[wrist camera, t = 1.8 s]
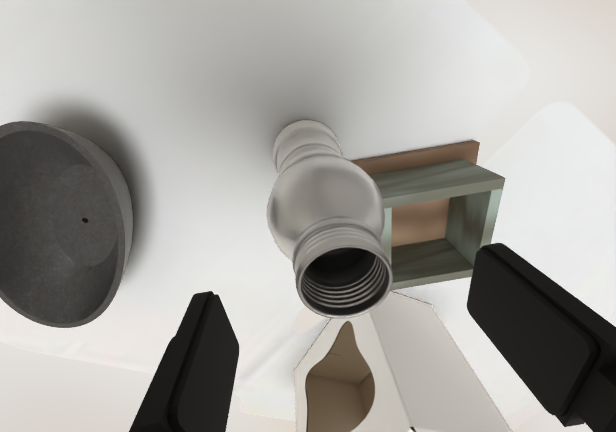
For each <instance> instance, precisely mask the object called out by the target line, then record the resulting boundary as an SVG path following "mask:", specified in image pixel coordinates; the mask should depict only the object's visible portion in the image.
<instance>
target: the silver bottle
mask: <svg viewBox="0 0 616 432" xmlns="http://www.w3.org/2000/svg"><path fill="white" fill-rule="evenodd" d="M273 161H274V164H275V167H276V170H277V173H278V174H279V175H278V178H277V180H276V182H275V184H274V186H273V188H272V191H271V194H270V197H269V201H268V205H267V221H268V227H269V229H270V232H271V234H272V237H273V239H274V241H275V243H276V244H277V246H278V247H279V249H280V250H281V252H282V253H283V254H284V255H285V256H286V257H287V258H288V259H290V260H291V261H292V262H293V269H294V272H295V276H296V288H297V291H298V294H299V297H300V299H301V300H302V302H303V303H304V305H305V306H307V307H308V308H309V309H310V310H312V311H313V312H315V313H316V314H319V315H322V316H325V317H329V318H337V319H344V318H352V317H357V316H360V315H363V314H365V313H367V312H369V311H371V310H373V309H374V308H376V307H377V306H378V305H380V304H381V303H382V302H383V301H384V299H385V298H386V297H387V295H388V294H389V292H390V290H391V287H392V283H393V272H392V269H391V265H390V262H389V260H388V258H387V256H386V255H385V253H384V248H383V245H382V243H381V241H380V238H381V236H382V233H383V230H384V226H385V212H384V205H383V198H382V196H381V193H380V190H379V188H378V187H377V185H376V184H375V182H374V181H373V179H372V178H371V177H370V176H369V175H368V174H367V173H365V172H364V171H363V170H362V169H361V168H360V167H358V166H357V165H355V164H353V163H352V162H350V161H348V160H347V159H345V158H344V157H343V155H342V150H341V146H340V144H339V141H338V139H337V137H336V136H335V134H334V133H333V132H332V131H331V130H330V129H329V128H328V127H326V126H325V125H323V124H321V123H319V122H316V121H311V120H301V121H297V122H294V123H292V124H290V125H288V126H287V127H285V128H284V129H283V130H282V131H281V132H280V134H279V135H278V136H277V138H276V140H275V143H274V147H273Z"/></svg>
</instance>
